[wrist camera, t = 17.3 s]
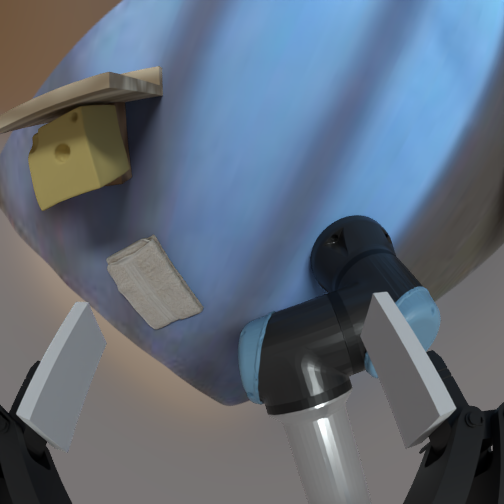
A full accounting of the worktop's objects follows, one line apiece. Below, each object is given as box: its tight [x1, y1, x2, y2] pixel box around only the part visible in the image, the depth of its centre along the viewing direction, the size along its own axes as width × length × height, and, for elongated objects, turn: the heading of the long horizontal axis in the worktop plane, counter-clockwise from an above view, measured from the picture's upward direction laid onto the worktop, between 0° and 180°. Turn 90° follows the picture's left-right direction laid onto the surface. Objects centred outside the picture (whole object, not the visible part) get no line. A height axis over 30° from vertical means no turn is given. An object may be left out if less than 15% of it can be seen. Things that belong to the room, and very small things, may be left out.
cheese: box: [28, 105, 130, 211], centre depth 28 cm, size 10×11×10 cm
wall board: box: [0, 66, 163, 186], centre depth 27 cm, size 16×20×18 cm
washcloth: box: [106, 235, 203, 329], centre depth 48 cm, size 12×18×3 cm, turn 25°
